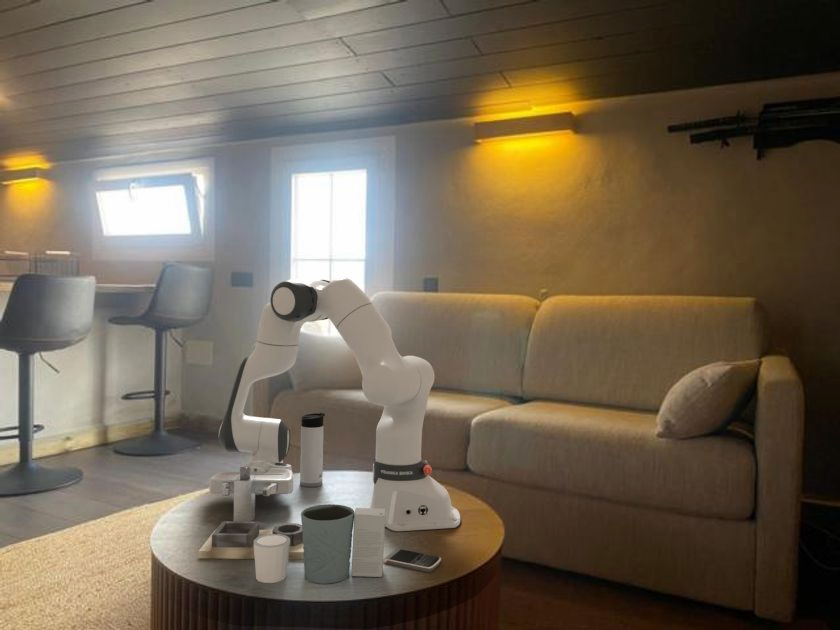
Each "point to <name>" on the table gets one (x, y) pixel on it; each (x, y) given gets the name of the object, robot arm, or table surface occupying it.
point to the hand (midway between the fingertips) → (245, 492)
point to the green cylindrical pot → (327, 542)
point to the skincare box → (368, 542)
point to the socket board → (248, 540)
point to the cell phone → (412, 560)
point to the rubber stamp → (244, 496)
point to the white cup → (271, 557)
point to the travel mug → (311, 450)
